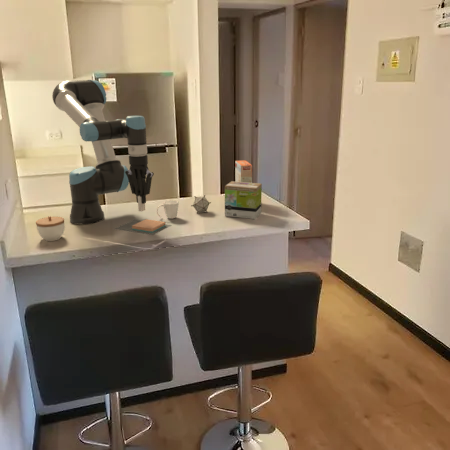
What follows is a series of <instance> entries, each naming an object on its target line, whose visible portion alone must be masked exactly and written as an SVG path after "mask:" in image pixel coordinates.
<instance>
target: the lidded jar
mask: <svg viewBox="0 0 450 450" xmlns="http://www.w3.org/2000/svg"><path fill="white" fill-rule="evenodd" d="M35 226H36V230H37V233H38V234H39V236H40V237H41V239H44V241H46V242H54V241H58V240H60V239H61V237H62V236H63V234H64V233H65V228H66V227H65V226H66V225H65V219H64V217H63V216H51V215H49V216H47V217H42V218H39V219H37V220H36V221H35Z"/></svg>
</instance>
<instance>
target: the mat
mask: <svg viewBox="0 0 450 450" xmlns="http://www.w3.org/2000/svg"><path fill="white" fill-rule="evenodd" d="M141 221H142V220H138V219H132V220H131V221H130V220H129V221H128V222H126V223H123V224H122V225H118V227H114V230H119V231H124V232H125V231H126V232H132V233H138V234H143V235H144V234H145V235H151V236H154V235H156V234H158V233H160V232H162V231H164V230H167V228H170V227H172V225H171V224H166V223H165V225H166V226H165V227H163V228H161V229H159V230H157V231H155V232H153V233H149V232H143V231H137V230H132V226H133V225H135V224H137V223H139V222H141Z"/></svg>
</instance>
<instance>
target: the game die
mask: <svg viewBox="0 0 450 450" xmlns="http://www.w3.org/2000/svg"><path fill="white" fill-rule="evenodd" d="M203 195H204V194H203ZM211 203H212V201H211V202H209V200H208V199H207V197H206V194H205V195H204V196H194V200H193V204H192V205H190V207H193V208H194V210H195V211H196V214H199V213H204V212H206V213H207V214H208V213H209V212H208V208H209V206H210V204H211Z"/></svg>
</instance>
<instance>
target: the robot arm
mask: <svg viewBox="0 0 450 450" xmlns="http://www.w3.org/2000/svg"><path fill="white" fill-rule="evenodd" d="M52 101H53V103H54V105H55V107H56V108H58V110H60V111H62V112H64V113H65V114H66V115H67V117H69V118H70V119H71V120H72V121H73V122H74V123H75V124H76V126H78V128H79V135H80V137H81V139H82V141H84V142H86V143H87V142H91V145H92V148H93V152H94V154H95V155H94V156H95V158H96V162H97V163H96V165H95V166H91V165H90V166H89V165H88V166H82V167H78V168H76V169H73V170H71V171H70V173H69V175H68V177H69V181H68V182H69V183H68V184H69V187H70V195H71V208H70V209H71V210H70V214H69V221H70V223H72V224H76V225H89V224H91V225H92V224H95V223H98V222H100V221H103V220H104V219H105V213H104V211H103V207H102V206H101V204H100V203H101V202H100V199H99V196H101V195H107V194H112V193H119V192H122V191H125V190H127V188H128V186H129V187H130V192H131V193H132V194H133V195H135V198H136V203H137V205H138V206H137V207H138V212H144V211H146V202H147V197H146V196H147V195H150V193H151V189H152V188H151V187H152V181H153V176H154V171H150V170H149V167H148V165H149V164H148V163H149V160H148V155H147V154H148V144H147V129H146V128H147V124H146V119H145V117H144V116H143V115H127V116H126V117H125V118H117V119H113V120H106V118H105V115H104V112H103V111H104V108H105V105H106V103H107V93H106V89H105V87H104V85H103V83H101V82H100V81H98V80H96V79H95V80H93V79H82V80H64V81H62V82H59V83H58V84H57V85H56V86H55V87H54V89H53V91H52ZM118 139H127V149H128V151H127V153H128V163H129V165H130V166H129V169H128V167H127V166H126V165H125V164H122V163H121V162H122V161H121V160H120V159H118V158H117V157H116V153H115V150H114V146H113V144H112V143H113V142H112V140H118Z"/></svg>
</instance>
